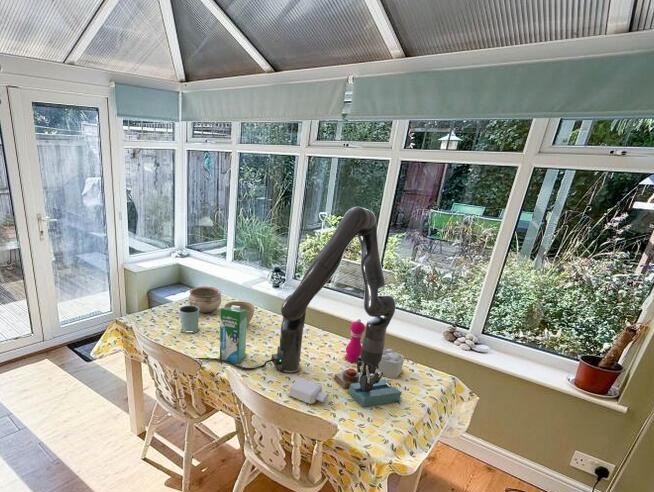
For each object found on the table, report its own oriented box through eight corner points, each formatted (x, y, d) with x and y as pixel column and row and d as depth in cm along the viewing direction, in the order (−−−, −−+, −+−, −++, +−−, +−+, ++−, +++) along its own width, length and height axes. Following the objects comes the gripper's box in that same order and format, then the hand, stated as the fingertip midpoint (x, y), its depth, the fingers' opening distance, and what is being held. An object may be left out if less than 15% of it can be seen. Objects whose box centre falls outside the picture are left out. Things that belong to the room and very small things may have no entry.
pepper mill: (361, 363, 184) (368, 323, 176) (345, 361, 185) (351, 321, 178) (360, 356, 191) (366, 316, 183) (343, 354, 192) (349, 315, 184)
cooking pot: (208, 301, 254) (208, 282, 249) (231, 309, 242) (231, 290, 237) (178, 312, 237) (177, 292, 233) (200, 321, 225) (200, 300, 221)
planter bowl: (234, 317, 232) (235, 299, 228) (259, 324, 223) (260, 305, 219) (217, 326, 220) (218, 307, 216) (243, 334, 211) (244, 314, 207)
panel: (344, 388, 165) (345, 379, 164) (334, 378, 172) (335, 370, 171) (366, 385, 168) (367, 376, 166) (355, 375, 175) (356, 367, 173)
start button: (349, 376, 167) (350, 372, 166) (345, 372, 170) (346, 369, 169) (356, 375, 168) (357, 371, 167) (352, 371, 170) (353, 368, 170)
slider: (363, 394, 156) (366, 379, 154) (359, 390, 159) (362, 375, 156) (370, 393, 157) (372, 378, 154) (365, 389, 159) (368, 374, 157)
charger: (325, 411, 151) (288, 396, 159) (335, 399, 158) (299, 386, 166) (326, 400, 149) (289, 386, 157) (336, 389, 156) (301, 376, 164)
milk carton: (245, 355, 190) (247, 305, 180) (238, 363, 182) (239, 311, 173) (227, 351, 194) (228, 301, 184) (219, 359, 186) (220, 308, 176)
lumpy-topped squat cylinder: (395, 379, 172) (399, 361, 169) (365, 369, 179) (368, 351, 176) (403, 369, 179) (406, 352, 176) (373, 360, 187) (376, 343, 183)
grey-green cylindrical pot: (203, 329, 216) (203, 307, 212) (191, 335, 208) (191, 314, 204) (187, 324, 221) (187, 303, 217) (176, 331, 213) (175, 309, 209)
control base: (363, 407, 154) (365, 396, 152) (348, 392, 162) (350, 382, 161) (399, 400, 158) (401, 390, 156) (383, 387, 166) (385, 377, 165)
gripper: (352, 340, 156) (346, 379, 162) (375, 357, 143) (367, 399, 150) (370, 338, 158) (363, 377, 164) (393, 355, 145) (385, 396, 152)
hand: (365, 387), depth 157 cm, fingers open, 3 cm apart
